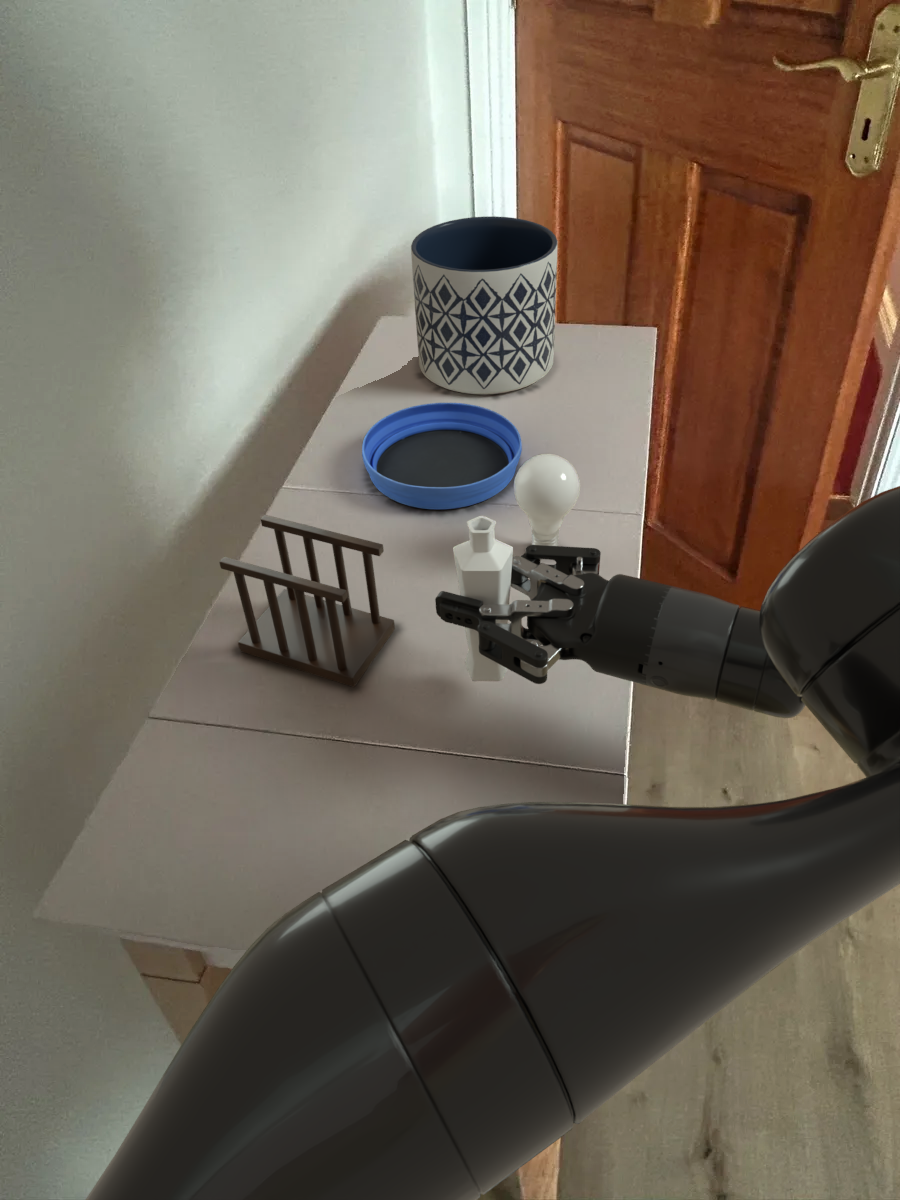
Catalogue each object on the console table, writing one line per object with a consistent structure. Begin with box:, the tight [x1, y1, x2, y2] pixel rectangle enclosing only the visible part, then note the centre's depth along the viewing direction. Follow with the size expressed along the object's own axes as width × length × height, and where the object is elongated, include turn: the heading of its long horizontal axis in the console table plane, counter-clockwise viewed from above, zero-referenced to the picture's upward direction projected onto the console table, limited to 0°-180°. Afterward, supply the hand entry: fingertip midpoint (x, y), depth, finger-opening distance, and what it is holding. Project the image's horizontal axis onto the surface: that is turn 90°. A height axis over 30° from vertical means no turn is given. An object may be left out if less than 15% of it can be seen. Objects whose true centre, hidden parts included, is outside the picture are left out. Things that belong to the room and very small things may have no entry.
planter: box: [410, 215, 559, 395], centre depth 118 cm, size 18×18×16 cm
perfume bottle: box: [452, 515, 514, 683], centre depth 72 cm, size 5×4×15 cm
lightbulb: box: [513, 453, 581, 546], centre depth 89 cm, size 6×6×11 cm
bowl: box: [361, 402, 523, 510], centre depth 104 cm, size 18×18×4 cm
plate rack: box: [219, 514, 396, 688], centre depth 81 cm, size 12×8×10 cm, turn 66°
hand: (452, 583), depth 72 cm, fingers closed on perfume bottle, 4 cm apart
